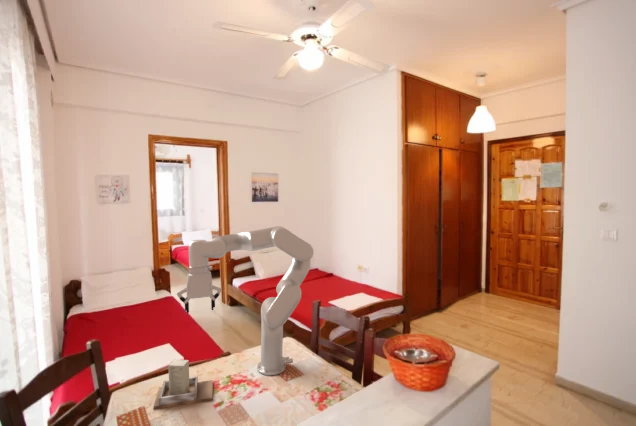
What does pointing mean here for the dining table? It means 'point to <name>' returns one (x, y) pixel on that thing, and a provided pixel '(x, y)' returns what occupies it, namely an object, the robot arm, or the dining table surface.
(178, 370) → the skincare box
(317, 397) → the dining table surface
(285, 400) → the dining table surface
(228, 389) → the dining table surface
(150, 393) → the dining table surface
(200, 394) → the box stand
